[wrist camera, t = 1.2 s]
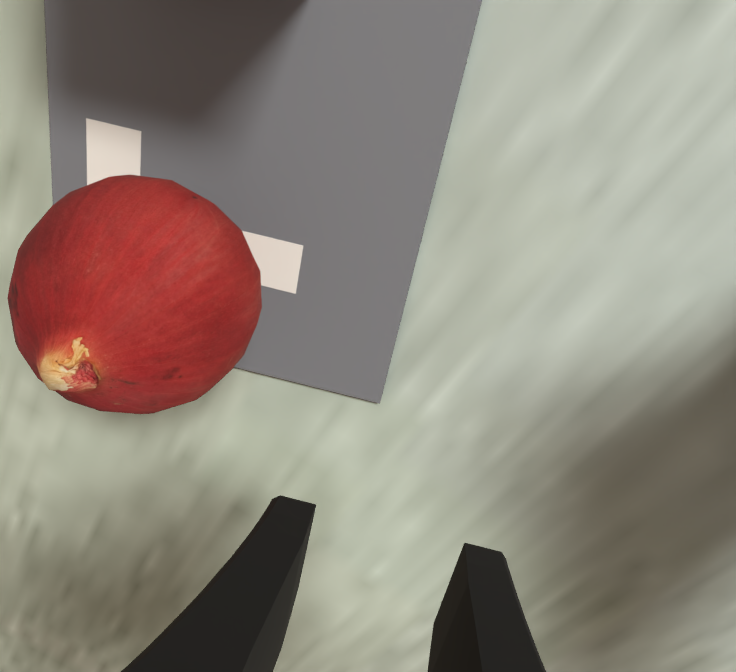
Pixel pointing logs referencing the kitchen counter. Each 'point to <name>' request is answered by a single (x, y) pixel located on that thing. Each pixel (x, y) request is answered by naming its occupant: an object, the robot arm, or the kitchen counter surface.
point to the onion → (134, 295)
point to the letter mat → (276, 147)
